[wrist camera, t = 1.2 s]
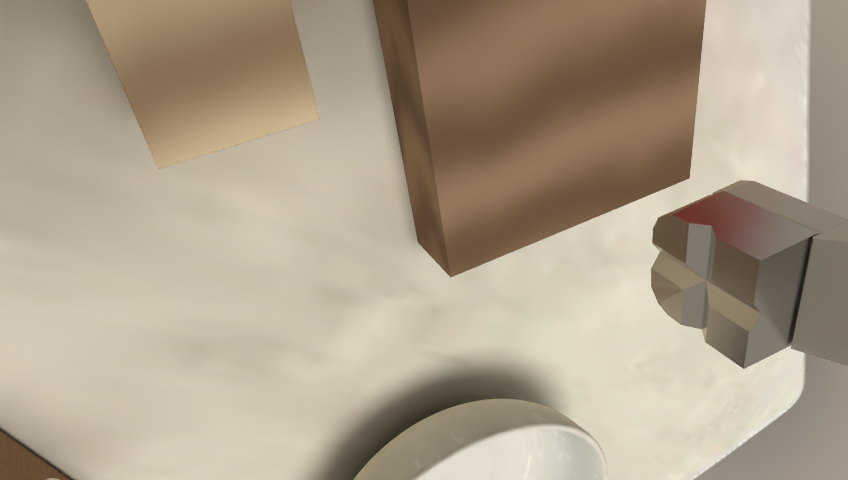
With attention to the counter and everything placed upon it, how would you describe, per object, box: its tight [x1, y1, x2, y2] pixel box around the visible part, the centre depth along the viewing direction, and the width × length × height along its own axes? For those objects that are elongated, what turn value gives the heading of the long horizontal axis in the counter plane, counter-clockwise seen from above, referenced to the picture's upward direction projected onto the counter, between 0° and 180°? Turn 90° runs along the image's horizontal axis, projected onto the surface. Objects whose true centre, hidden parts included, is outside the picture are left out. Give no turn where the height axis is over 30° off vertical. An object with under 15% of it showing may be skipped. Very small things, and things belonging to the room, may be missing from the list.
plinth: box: [373, 0, 706, 277], centre depth 32 cm, size 16×16×4 cm
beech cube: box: [86, 0, 320, 169], centre depth 24 cm, size 6×6×6 cm
